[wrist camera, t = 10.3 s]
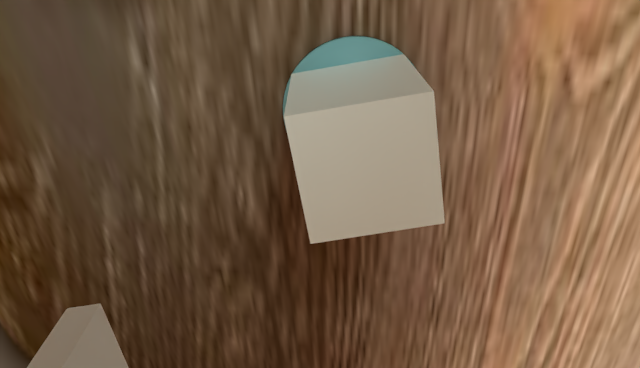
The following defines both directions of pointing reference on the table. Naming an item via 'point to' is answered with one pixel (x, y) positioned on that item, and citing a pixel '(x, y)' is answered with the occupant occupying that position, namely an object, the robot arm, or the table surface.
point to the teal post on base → (343, 55)
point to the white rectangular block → (364, 148)
